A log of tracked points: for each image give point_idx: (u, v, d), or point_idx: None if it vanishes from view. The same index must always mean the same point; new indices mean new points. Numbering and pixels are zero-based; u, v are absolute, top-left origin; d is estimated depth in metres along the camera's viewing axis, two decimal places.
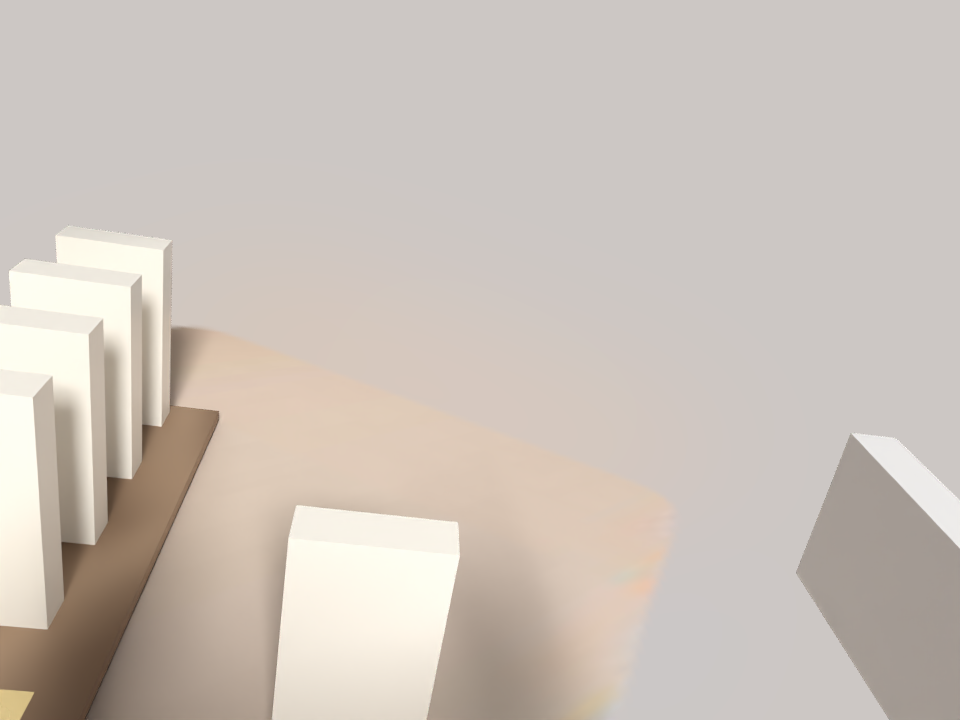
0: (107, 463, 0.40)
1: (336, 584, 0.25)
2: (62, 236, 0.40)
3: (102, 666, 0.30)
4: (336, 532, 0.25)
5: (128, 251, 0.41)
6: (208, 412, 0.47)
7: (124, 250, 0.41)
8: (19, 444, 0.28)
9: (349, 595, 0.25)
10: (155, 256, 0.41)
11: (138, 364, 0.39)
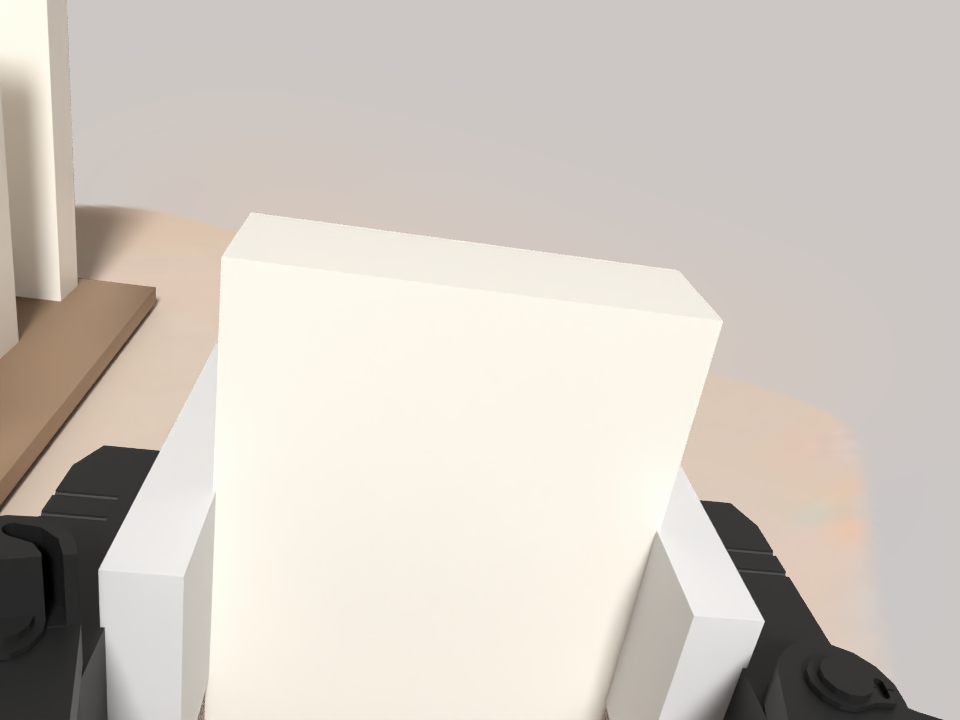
0: None
1: (367, 414, 0.09)
2: None
3: None
4: (364, 259, 0.09)
5: None
6: (139, 288, 0.31)
7: None
8: None
9: (402, 450, 0.09)
10: None
11: None
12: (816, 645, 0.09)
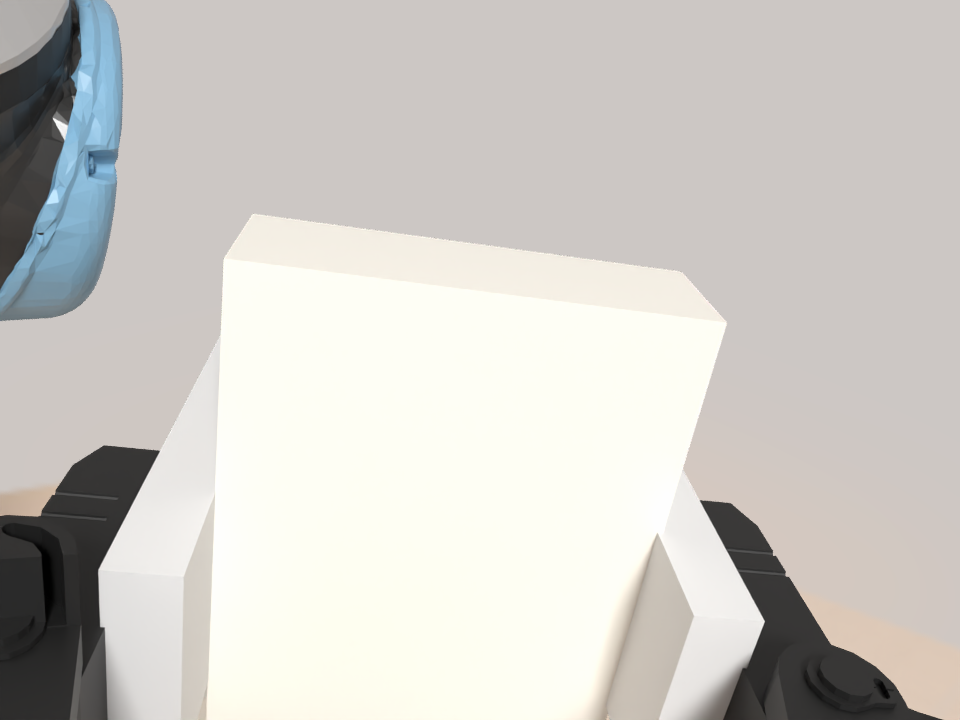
0: None
1: (370, 416, 0.09)
2: None
3: None
4: (367, 261, 0.08)
5: None
6: None
7: None
8: None
9: (405, 452, 0.09)
10: None
11: None
12: (816, 645, 0.09)
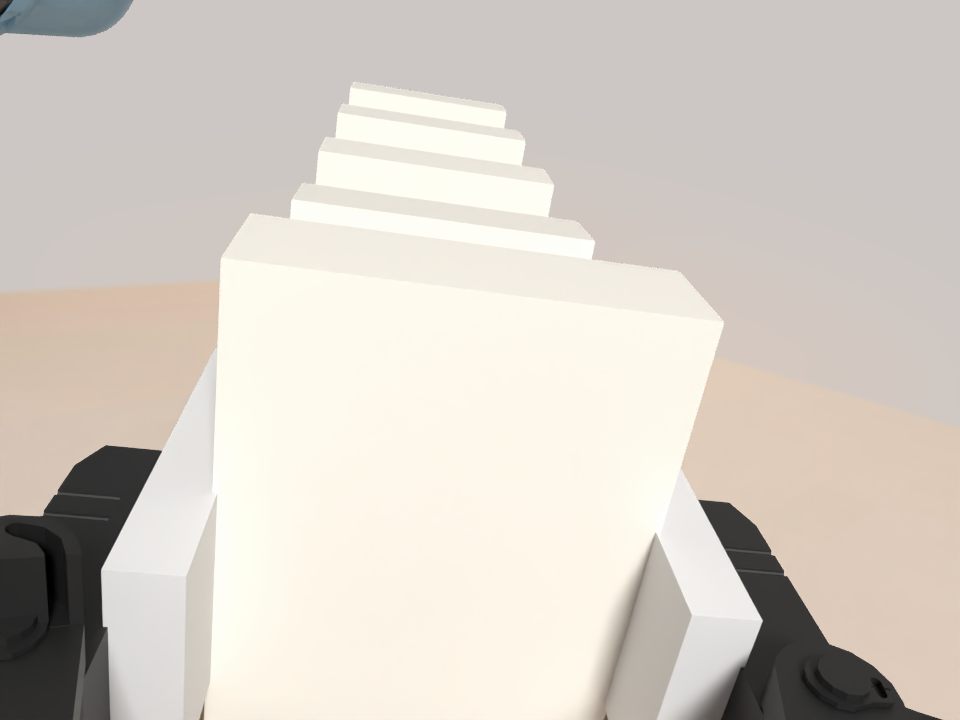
0: None
1: (368, 415, 0.09)
2: (360, 89, 0.26)
3: None
4: (365, 260, 0.08)
5: (454, 114, 0.27)
6: None
7: (449, 112, 0.27)
8: None
9: (402, 452, 0.09)
10: (493, 122, 0.27)
11: None
12: (814, 645, 0.09)
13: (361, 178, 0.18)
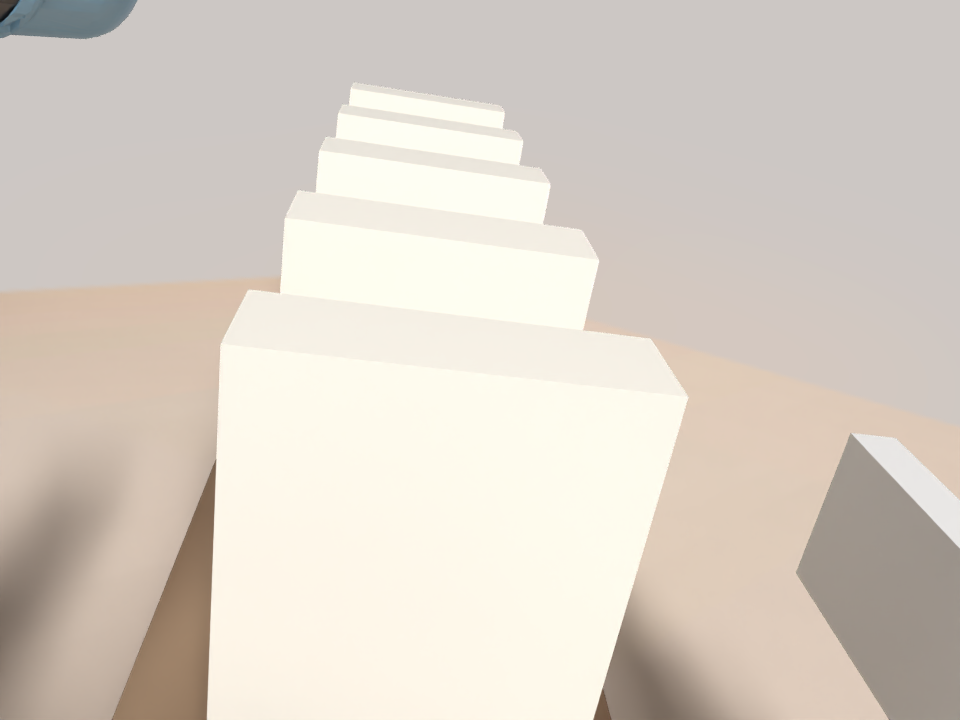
0: None
1: (357, 483, 0.09)
2: (360, 90, 0.27)
3: None
4: (353, 341, 0.09)
5: (453, 114, 0.27)
6: None
7: (448, 113, 0.27)
8: None
9: (390, 515, 0.10)
10: (492, 122, 0.27)
11: None
12: None
13: (361, 177, 0.18)
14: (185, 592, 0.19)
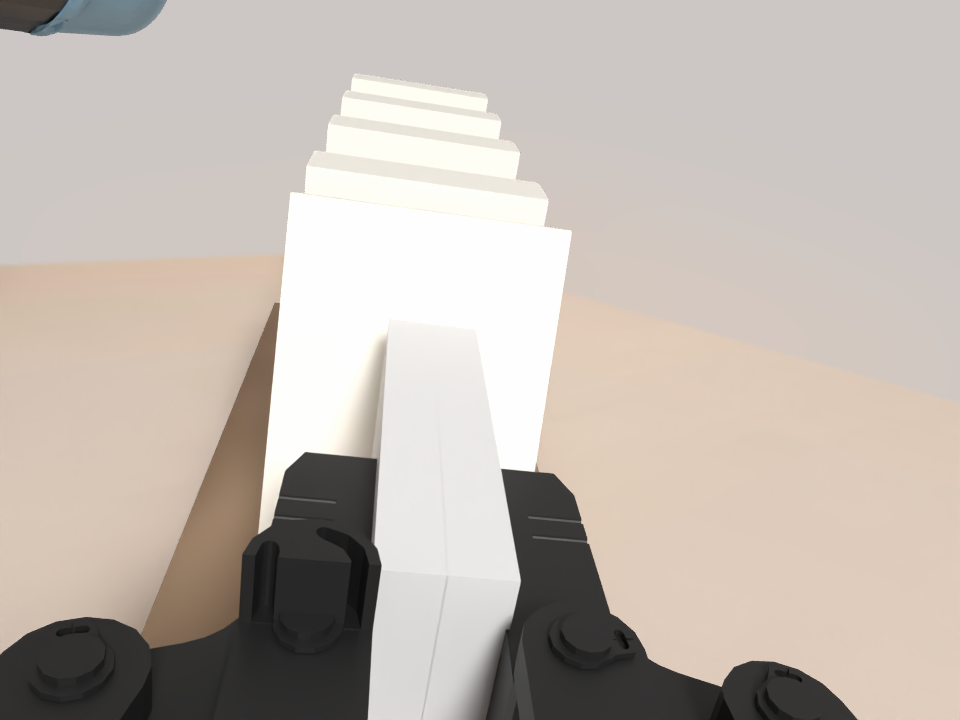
0: None
1: (369, 290, 0.15)
2: (360, 79, 0.30)
3: None
4: (367, 202, 0.15)
5: (443, 101, 0.31)
6: None
7: (437, 99, 0.31)
8: None
9: (390, 314, 0.15)
10: (476, 108, 0.31)
11: None
12: (561, 605, 0.08)
13: (363, 146, 0.22)
14: (215, 496, 0.23)
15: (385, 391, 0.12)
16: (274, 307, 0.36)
